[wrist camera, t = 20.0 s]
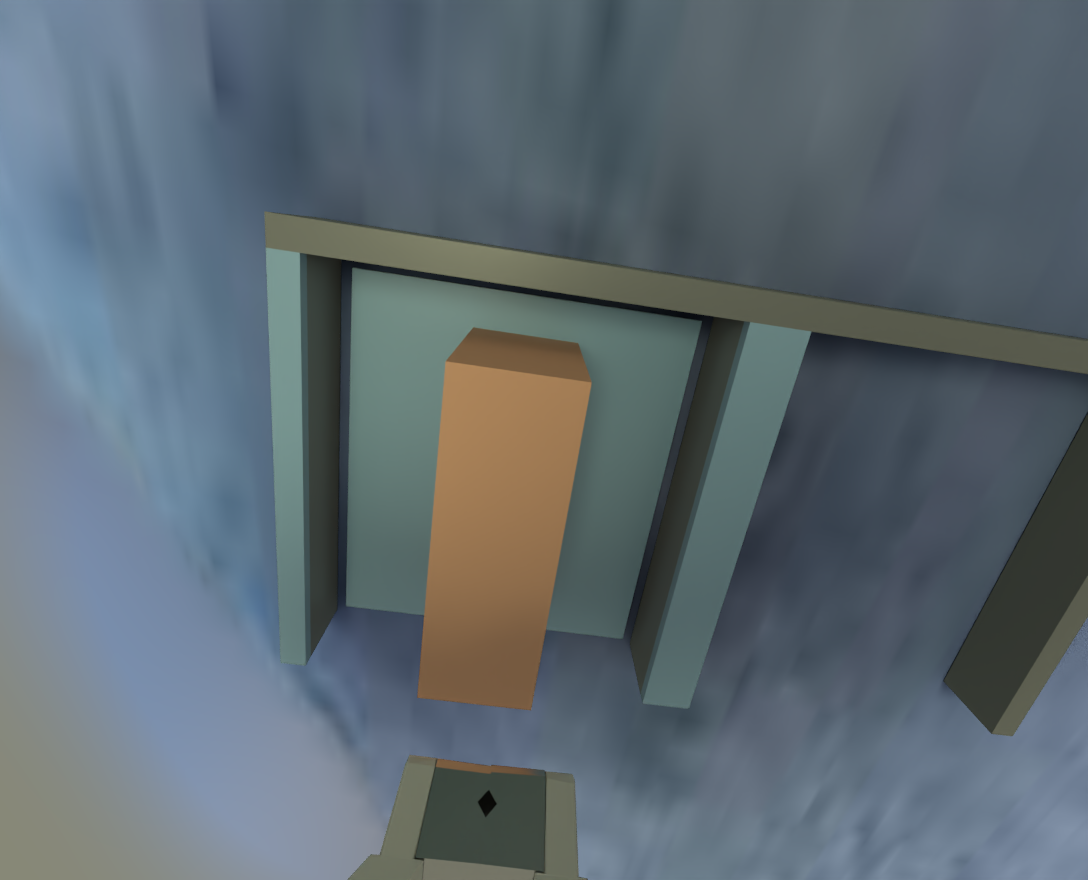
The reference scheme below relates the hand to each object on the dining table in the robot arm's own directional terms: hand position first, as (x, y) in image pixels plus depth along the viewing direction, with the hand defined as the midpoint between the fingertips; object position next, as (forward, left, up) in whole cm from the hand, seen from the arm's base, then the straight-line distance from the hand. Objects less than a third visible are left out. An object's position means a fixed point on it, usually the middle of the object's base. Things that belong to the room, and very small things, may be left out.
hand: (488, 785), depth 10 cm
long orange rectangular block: (+1, 0, -13) cm, 13 cm away
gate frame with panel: (-7, 0, -14) cm, 15 cm away
